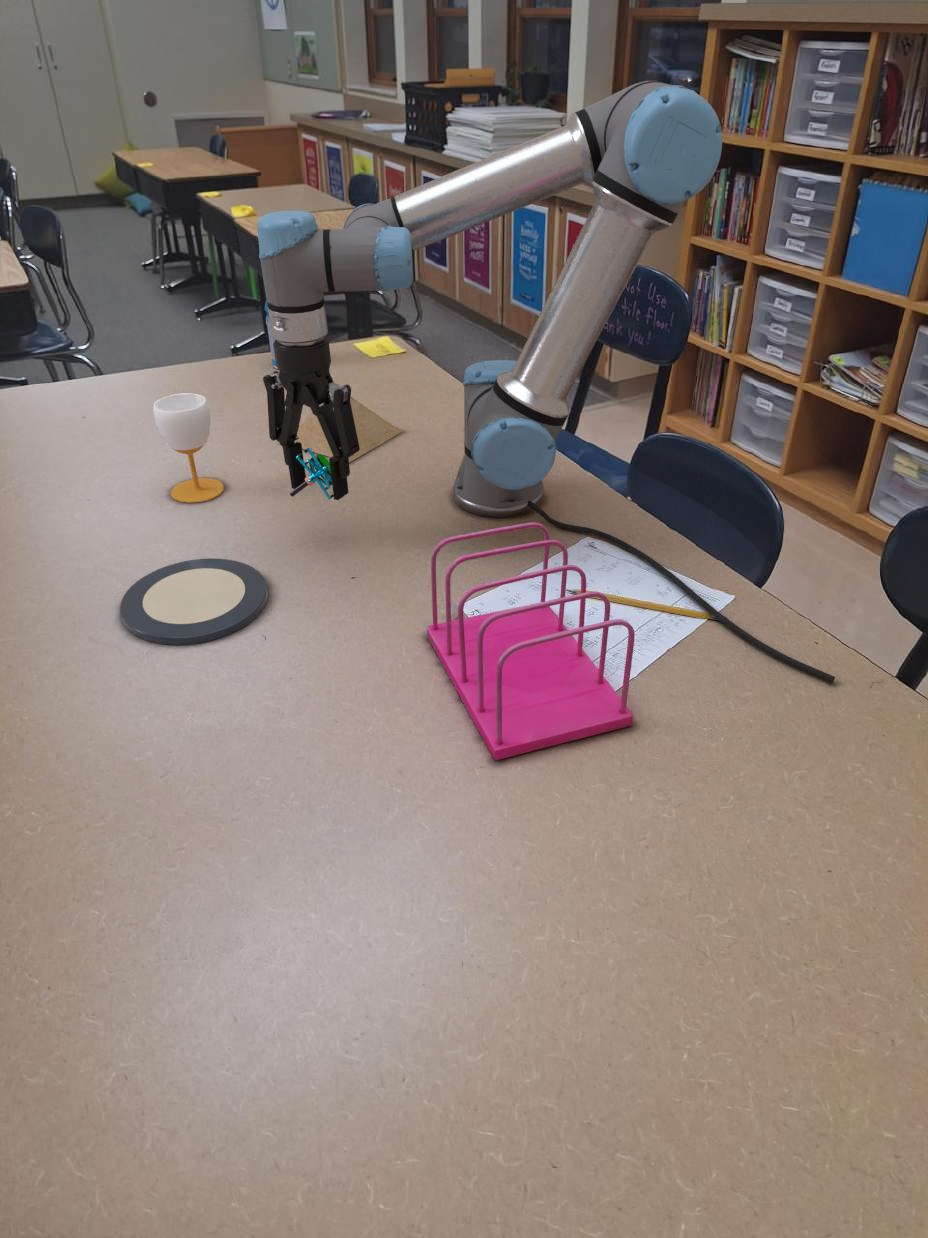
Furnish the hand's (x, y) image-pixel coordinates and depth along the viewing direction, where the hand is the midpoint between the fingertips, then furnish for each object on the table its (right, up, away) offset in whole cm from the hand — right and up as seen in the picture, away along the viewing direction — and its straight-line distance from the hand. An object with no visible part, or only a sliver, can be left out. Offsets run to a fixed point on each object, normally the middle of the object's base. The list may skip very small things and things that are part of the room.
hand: (319, 490), depth 130 cm
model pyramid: (-2, +16, +39) cm, 42 cm away
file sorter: (+29, -27, -22) cm, 45 cm away
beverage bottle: (-19, +40, +72) cm, 85 cm away
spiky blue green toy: (-1, 0, +1) cm, 1 cm away
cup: (-25, +3, +20) cm, 32 cm away
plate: (-16, -17, -8) cm, 25 cm away
